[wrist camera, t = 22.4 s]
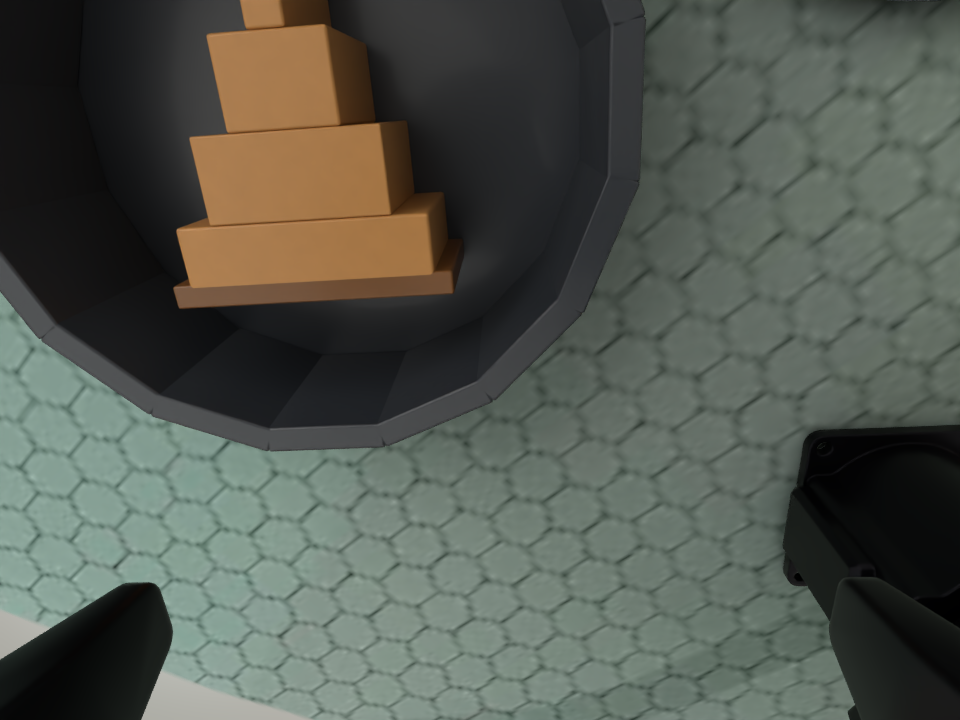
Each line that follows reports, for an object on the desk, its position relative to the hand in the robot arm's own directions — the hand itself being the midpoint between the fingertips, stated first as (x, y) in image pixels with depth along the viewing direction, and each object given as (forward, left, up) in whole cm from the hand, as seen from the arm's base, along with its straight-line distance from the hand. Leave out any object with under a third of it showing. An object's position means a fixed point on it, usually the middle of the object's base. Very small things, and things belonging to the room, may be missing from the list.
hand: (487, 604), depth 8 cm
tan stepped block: (+4, -6, -12) cm, 14 cm away
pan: (+4, -6, -13) cm, 15 cm away
